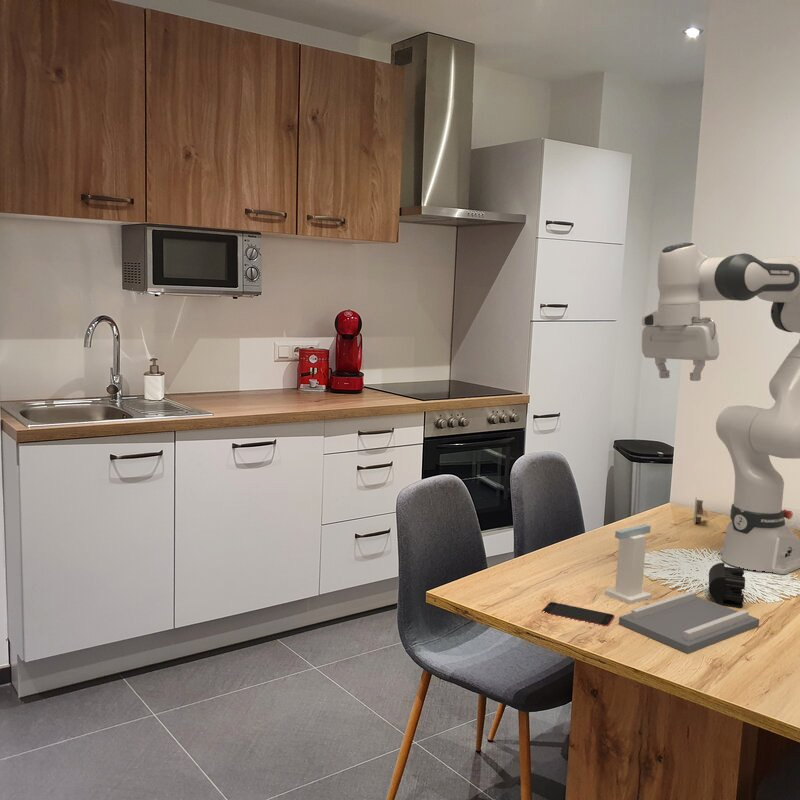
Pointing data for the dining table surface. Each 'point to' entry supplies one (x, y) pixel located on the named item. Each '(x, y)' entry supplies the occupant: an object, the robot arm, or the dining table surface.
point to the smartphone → (579, 613)
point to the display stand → (630, 565)
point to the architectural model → (699, 511)
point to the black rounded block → (727, 585)
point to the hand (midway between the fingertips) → (679, 379)
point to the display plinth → (688, 622)
